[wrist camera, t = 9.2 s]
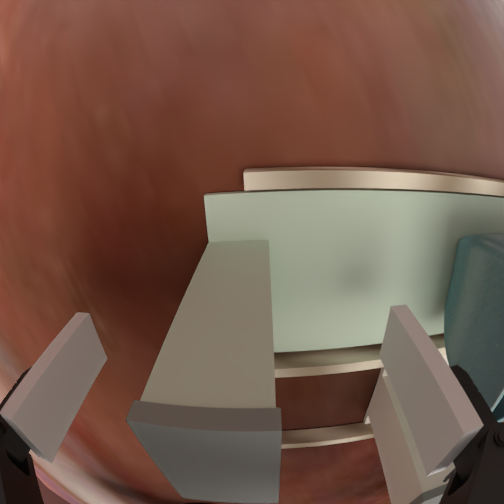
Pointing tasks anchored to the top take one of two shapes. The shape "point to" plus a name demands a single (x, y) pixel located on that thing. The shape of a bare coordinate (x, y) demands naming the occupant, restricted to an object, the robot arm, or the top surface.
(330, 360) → the lane frame
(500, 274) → the flower pot
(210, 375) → the sage strip
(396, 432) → the cream strip
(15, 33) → the top surface
